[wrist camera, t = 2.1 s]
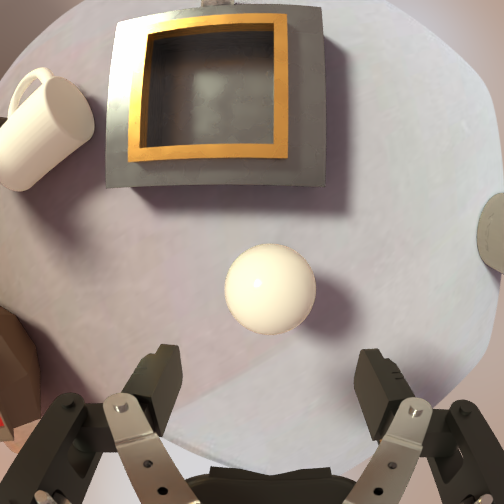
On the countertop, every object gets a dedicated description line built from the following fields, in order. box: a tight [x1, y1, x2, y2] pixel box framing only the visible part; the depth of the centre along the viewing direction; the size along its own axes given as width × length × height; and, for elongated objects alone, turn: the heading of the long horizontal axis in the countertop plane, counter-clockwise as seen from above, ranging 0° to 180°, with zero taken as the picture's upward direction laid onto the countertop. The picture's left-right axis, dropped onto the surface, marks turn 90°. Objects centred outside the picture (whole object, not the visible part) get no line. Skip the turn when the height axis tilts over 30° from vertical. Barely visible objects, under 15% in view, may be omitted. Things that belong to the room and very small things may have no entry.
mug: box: [0, 68, 95, 191], centre depth 22 cm, size 12×10×8 cm
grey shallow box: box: [105, 0, 326, 188], centre depth 21 cm, size 18×20×6 cm
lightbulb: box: [225, 244, 316, 335], centre depth 23 cm, size 6×6×11 cm
